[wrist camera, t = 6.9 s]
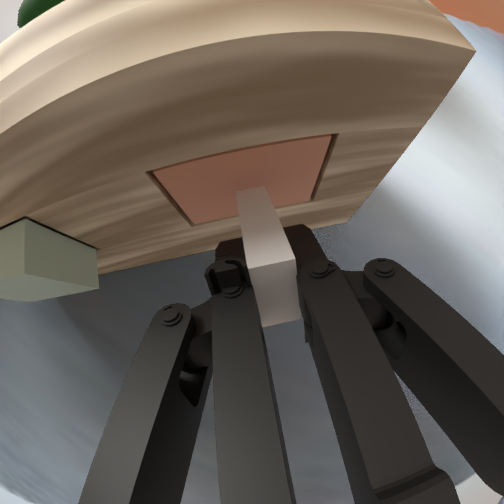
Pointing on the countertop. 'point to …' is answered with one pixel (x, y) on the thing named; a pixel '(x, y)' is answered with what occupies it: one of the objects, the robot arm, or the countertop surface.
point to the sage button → (43, 264)
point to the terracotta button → (245, 176)
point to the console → (207, 108)
